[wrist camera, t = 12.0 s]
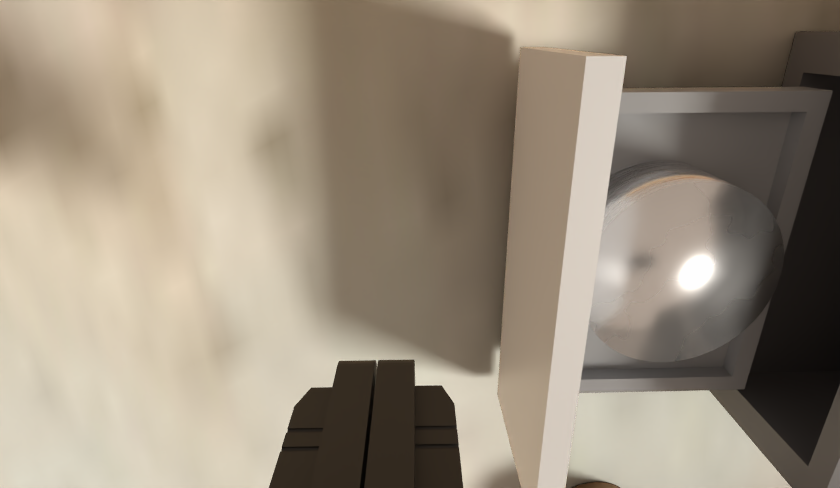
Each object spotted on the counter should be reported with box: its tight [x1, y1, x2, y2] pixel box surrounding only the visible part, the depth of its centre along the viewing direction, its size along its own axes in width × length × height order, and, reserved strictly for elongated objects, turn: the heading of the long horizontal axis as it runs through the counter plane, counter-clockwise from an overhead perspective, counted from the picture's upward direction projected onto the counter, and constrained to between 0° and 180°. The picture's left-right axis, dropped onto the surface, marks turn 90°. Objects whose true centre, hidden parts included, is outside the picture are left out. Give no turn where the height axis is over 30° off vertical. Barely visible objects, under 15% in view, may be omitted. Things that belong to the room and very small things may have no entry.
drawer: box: [497, 47, 833, 488], centre depth 15 cm, size 9×13×6 cm
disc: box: [589, 161, 784, 362], centre depth 16 cm, size 6×6×2 cm
